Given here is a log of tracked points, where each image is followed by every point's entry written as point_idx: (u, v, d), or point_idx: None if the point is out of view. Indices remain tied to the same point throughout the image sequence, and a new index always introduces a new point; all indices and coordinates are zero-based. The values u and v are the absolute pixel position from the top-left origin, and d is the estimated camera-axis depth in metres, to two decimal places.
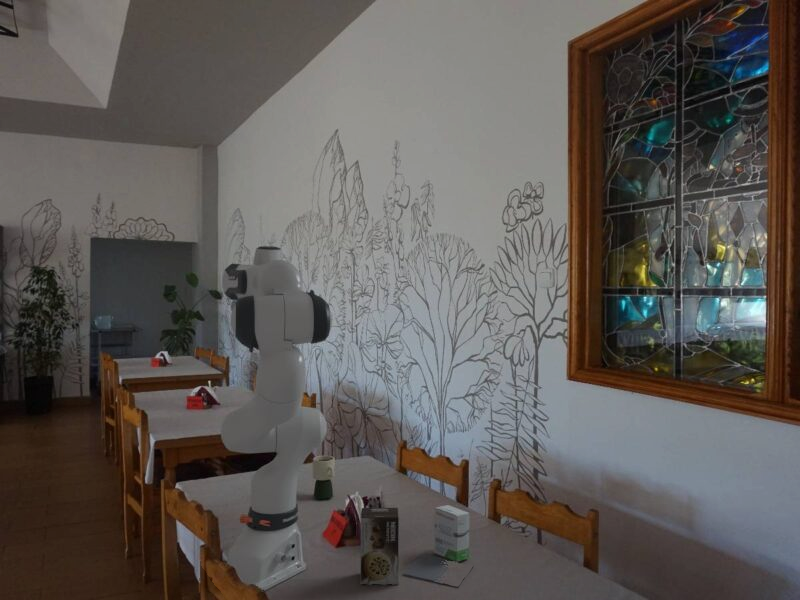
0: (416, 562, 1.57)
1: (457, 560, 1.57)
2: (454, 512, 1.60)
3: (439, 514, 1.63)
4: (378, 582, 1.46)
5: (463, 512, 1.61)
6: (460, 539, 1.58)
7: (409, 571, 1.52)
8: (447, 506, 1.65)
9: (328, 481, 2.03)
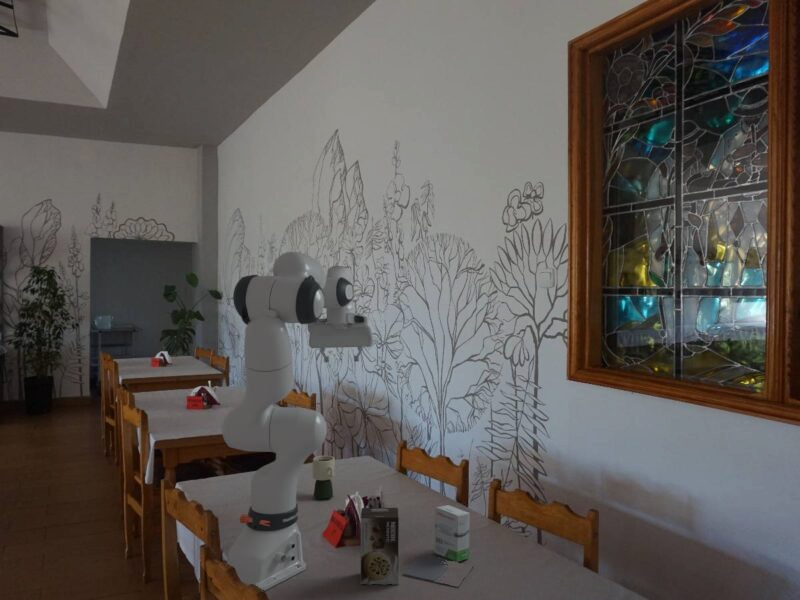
0: (416, 562, 1.57)
1: (457, 560, 1.57)
2: (454, 512, 1.60)
3: (439, 514, 1.63)
4: (378, 582, 1.46)
5: (463, 512, 1.61)
6: (460, 539, 1.58)
7: (409, 571, 1.52)
8: (447, 506, 1.65)
9: (328, 481, 2.03)
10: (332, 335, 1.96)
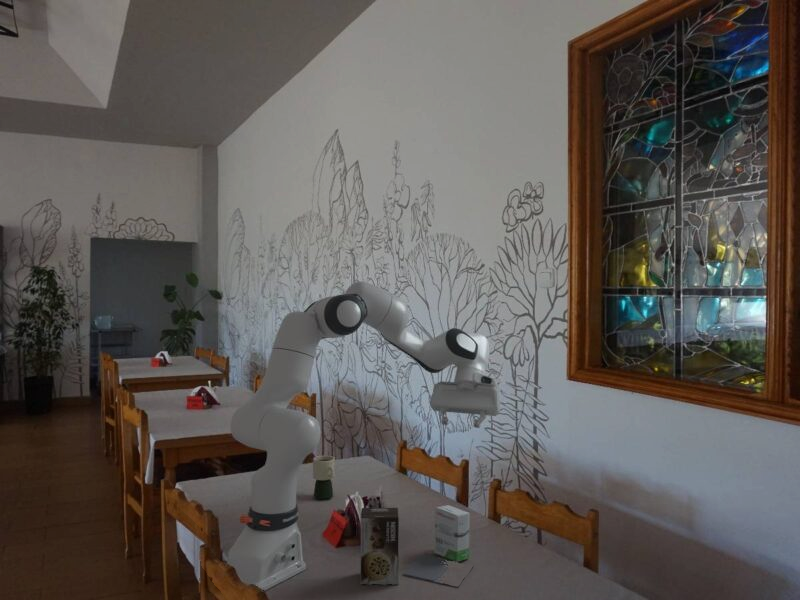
0: (416, 562, 1.57)
1: (457, 560, 1.57)
2: (454, 512, 1.60)
3: (439, 514, 1.63)
4: (378, 582, 1.46)
5: (463, 512, 1.61)
6: (460, 539, 1.58)
7: (409, 571, 1.52)
8: (447, 506, 1.65)
9: (328, 481, 2.03)
10: (455, 395, 1.81)
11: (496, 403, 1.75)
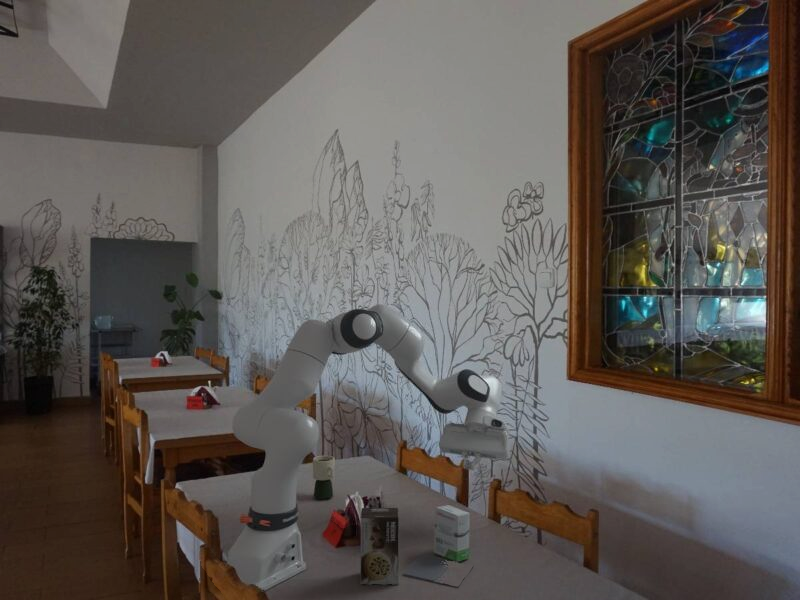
0: (416, 562, 1.57)
1: (457, 560, 1.57)
2: (454, 512, 1.60)
3: (439, 514, 1.63)
4: (378, 582, 1.46)
5: (463, 512, 1.61)
6: (460, 539, 1.58)
7: (409, 571, 1.52)
8: (447, 506, 1.65)
9: (328, 481, 2.03)
10: (465, 437, 1.79)
11: (506, 447, 1.73)
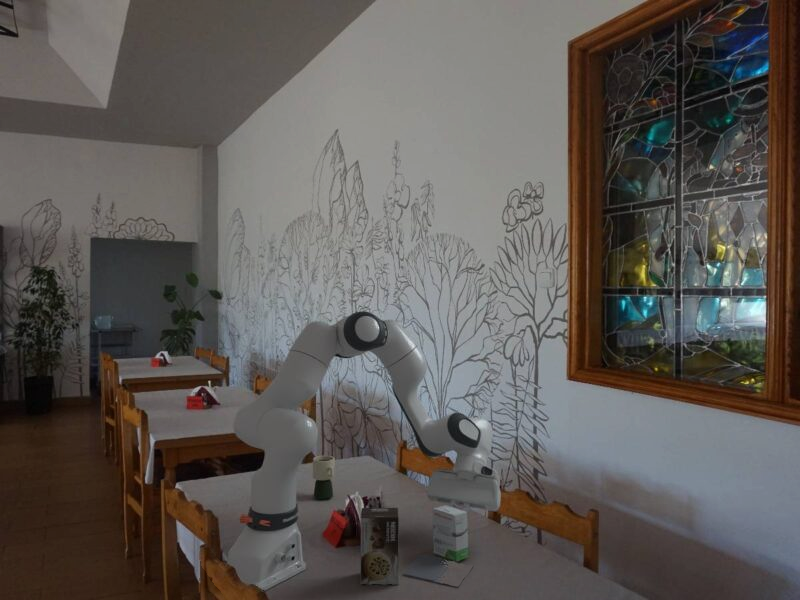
0: (416, 562, 1.57)
1: (457, 559, 1.57)
2: (451, 512, 1.60)
3: (437, 515, 1.63)
4: (378, 582, 1.46)
5: (460, 511, 1.61)
6: (459, 538, 1.58)
7: (409, 571, 1.52)
8: (444, 506, 1.65)
9: (328, 481, 2.03)
10: (453, 485, 1.71)
11: (496, 498, 1.65)
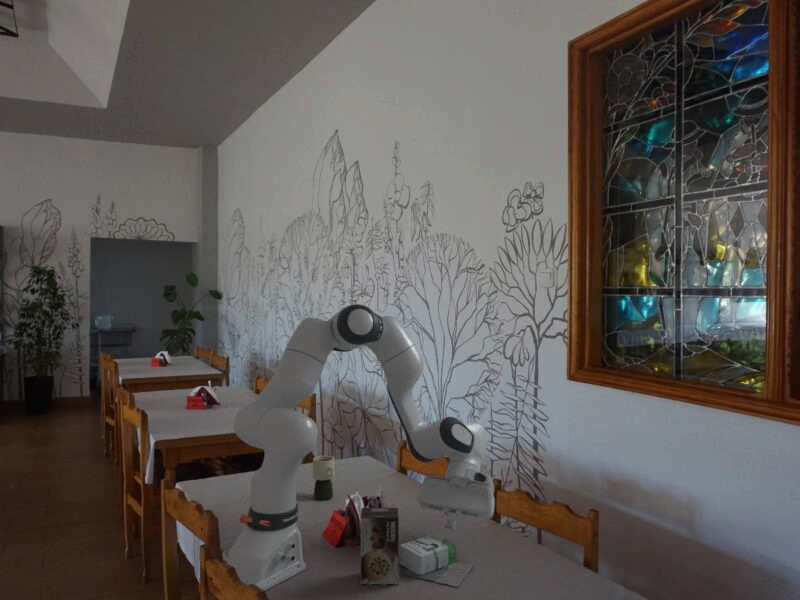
0: None
1: (454, 562, 1.57)
2: (414, 567, 1.51)
3: None
4: (378, 582, 1.46)
5: (418, 560, 1.51)
6: (439, 563, 1.54)
7: (409, 571, 1.52)
8: (402, 550, 1.55)
9: (328, 481, 2.03)
10: (446, 492, 1.65)
11: (489, 505, 1.59)
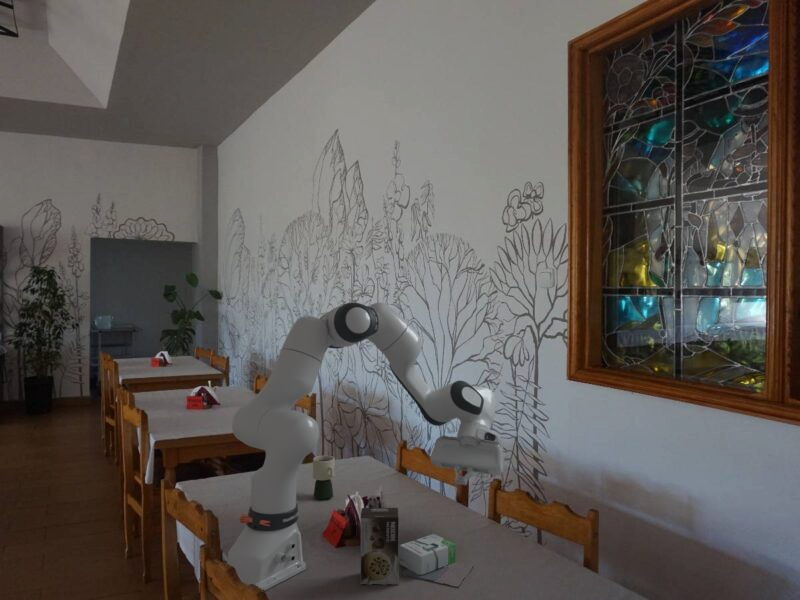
0: None
1: (454, 561, 1.57)
2: (414, 567, 1.51)
3: None
4: (378, 582, 1.46)
5: (418, 560, 1.51)
6: (439, 563, 1.54)
7: (409, 571, 1.52)
8: (401, 551, 1.55)
9: (328, 481, 2.03)
10: (457, 451, 1.74)
11: (499, 462, 1.68)
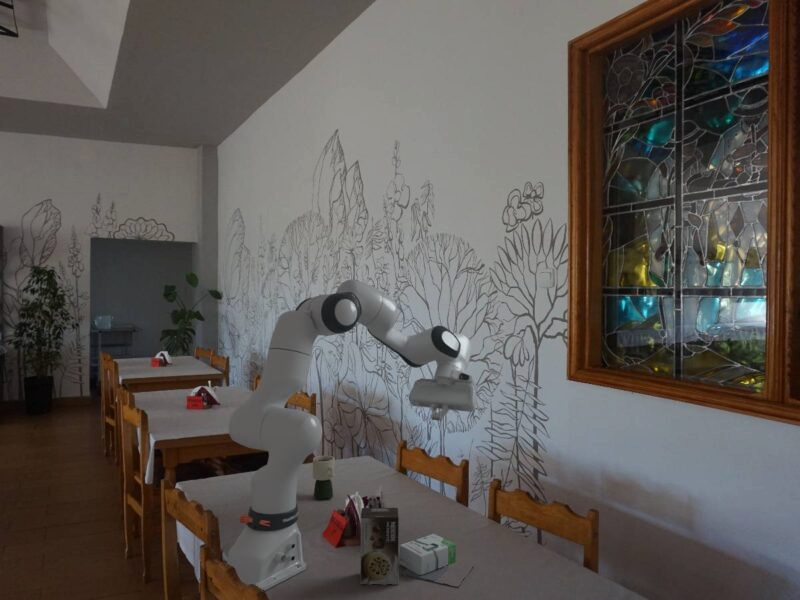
0: None
1: (454, 561, 1.57)
2: (414, 567, 1.51)
3: None
4: (378, 582, 1.46)
5: (418, 560, 1.51)
6: (439, 563, 1.54)
7: (409, 571, 1.52)
8: (401, 551, 1.55)
9: (328, 481, 2.03)
10: (433, 390, 1.86)
11: (472, 399, 1.80)
